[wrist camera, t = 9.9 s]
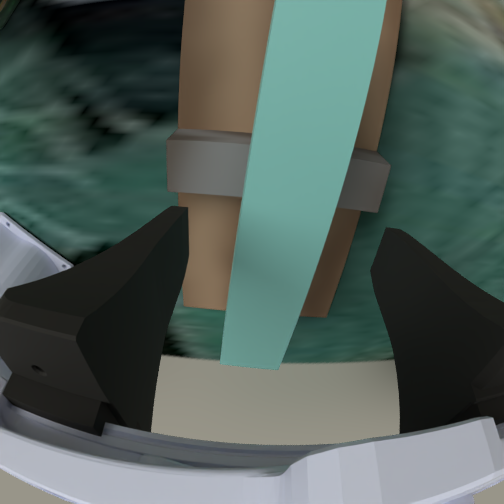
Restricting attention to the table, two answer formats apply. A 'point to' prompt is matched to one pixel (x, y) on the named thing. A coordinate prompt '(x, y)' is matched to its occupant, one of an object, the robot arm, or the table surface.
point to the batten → (296, 166)
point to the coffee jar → (6, 10)
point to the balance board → (234, 107)
